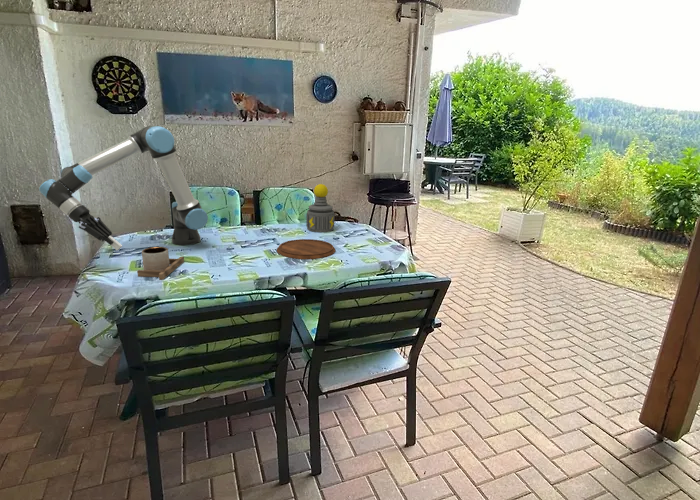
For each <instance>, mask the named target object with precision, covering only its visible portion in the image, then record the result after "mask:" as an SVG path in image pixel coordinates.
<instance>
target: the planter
mask: <svg viewBox="0 0 700 500" xmlns="http://www.w3.org/2000/svg"><path fill="white" fill-rule="evenodd" d="M169 254H170V253H169V248H167V247H164V246H151V247H146V248H144V249H142V250H141V256H142V257H141V258H142V270H161V271H163V270H165V269H166V268H167V267H168V266H170V262H169V258H170V257H169Z"/></svg>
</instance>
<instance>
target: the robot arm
mask: <svg viewBox="0 0 700 500" xmlns="http://www.w3.org/2000/svg"><path fill="white" fill-rule="evenodd" d="M145 152H149V154H150V156H151V157H152V159H153V160H155V161H156V162H157V163H158V165H159V167H160V169H161V172H162V174H163V175H164V178H165V180H166V182H167V185H168V186H169V189H170V191H171V193H172V195H173V196H174V197H173V198H174V199H175V201H173V202H172V203H171V211H172V220H173V232H172V236H171V243H172V244H173V245H179V246H180V245H181V246H186V245H194V244H197V243H200V242H202V241H201V235H200V233H199V230H201V229H203V228H204V227H205V226H207V223H208V220H209V217H208V216H209V215H208V213H207V212H206V211H205V209H203V208H202V206H201V204H200V201H199V200H198V199H196V198H195V197H194V194H193V193H192V190H191V188H190V186H189V184H188V181H187V179H186V177H185V175H184V172H183V170H182V168H181V166H180V164H179V161H178V159H177V157H176V154H177V149H176V146H175V137H174V135H173V134H172V132H170V130H169V129H167V128H165V127H163V126H160V125H159V126H158V125H155V126H154V125H153V126H152V125H149V126H144V127H143V128H141V129H139V130H137V131H136V132H134V133H132V134H130V135H128V137H127V139H124V140H123V141H121V142H118V143H116V144H114V145H112V146H110V147H108V148H106V149H103V150H102V151H100V152H97V153H96V154H93V155H91V156H89V157H86V158H85V159H82V160H81V161H79V162H77V163H75V164H72V165H69V166H65V167H63V168H62V169H61V171H60V178H59V179H58V180H55V179H54V178H53V179H52V178H51V179H50V178H49V179H47V180H46V181H44V182H43V183H42V184H41V185H40V186H39V188H38V191H39V193H40V194H42V195H43V197H44V198H46V200H48V201H49V202H50V203H51V204H53V205H54V206H55V207H57V209H58V210H60V211H62V213H64V214H65V215H66V216H68V217H69V218H70V219H71V220H72V221H73V222H74V223H79V225H78V228H79V229H80V230H82V231H85V232H86V233H87V234H89V235H90V236H92V237H93V238H95V239H97V240H98V241H101V242H102V243H103V242H106V243H107V244H108V245H110V246H111V247H112V248H113V249H115V251H119V250H120V249H121V248H122V247H123V245H122V244H121V243H120V242H119V241H118V240H117V239H115V238H114V237H113V232H112V230H110V228H108V226H106V224H105V222H103V221H102V219H101V217H99V216H97V217H95V216H93V215H92V214H91V213H90V209H88V208H87V207H86V206H85V205H83V203H82V202H80V201H79V200H78V199H77V198H76V197H75V196H73V195H74V194H75V193H76V192H77V191H79V189H81V188H82V187H84V185H86V184H88V183H89V182H90V181H91V180H92V179H93V177H94V176H95V174H98V173H100V172H102V171H104V170H106V169H108V168H110V167H112V166H114V165H116V164H119V163H120V162H122V161H124V160H126V159H128V158H130V157H132V156H134V155H135V156H136V155H137V154H139V155H142V154H144V153H145Z"/></svg>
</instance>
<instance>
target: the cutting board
mask: <svg viewBox="0 0 700 500" xmlns="http://www.w3.org/2000/svg"><path fill="white" fill-rule="evenodd" d="M276 252H277V254H278V255H280V256H282V257H285V258H288V259H293V260H318V259H325V258H328V257H331V256H333V255H335V254H336V248H335V247H334V245H333V244H332V243H330V242H328V241H325V240H319V239H308V238H307V239H306V238H305V239H303V238H302V239H301V238H300V239H299V238H298V239H291V240H287V241H284V242H282V243H280V244H279V245H278V246H277V248H276Z"/></svg>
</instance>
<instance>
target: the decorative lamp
mask: <svg viewBox="0 0 700 500" xmlns="http://www.w3.org/2000/svg"><path fill="white" fill-rule="evenodd" d="M328 193H329V188H328V187H327V186H326V184H324V183H319V184H317V185H315V186H314V189H313V194H314V196H315V199H314V202H313V204H310V205H309V206H308V209H307V212H306V220H305V221H306V228H307V230H308V231H310V232H311V233H312V232H313V233H329V232H332V231H333V230H334V228H335V215H336V214H335V210H333V209H334V207H333V206H332V205H330V204H328V202H327V201H328V200H327V197H326V196H328Z"/></svg>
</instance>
